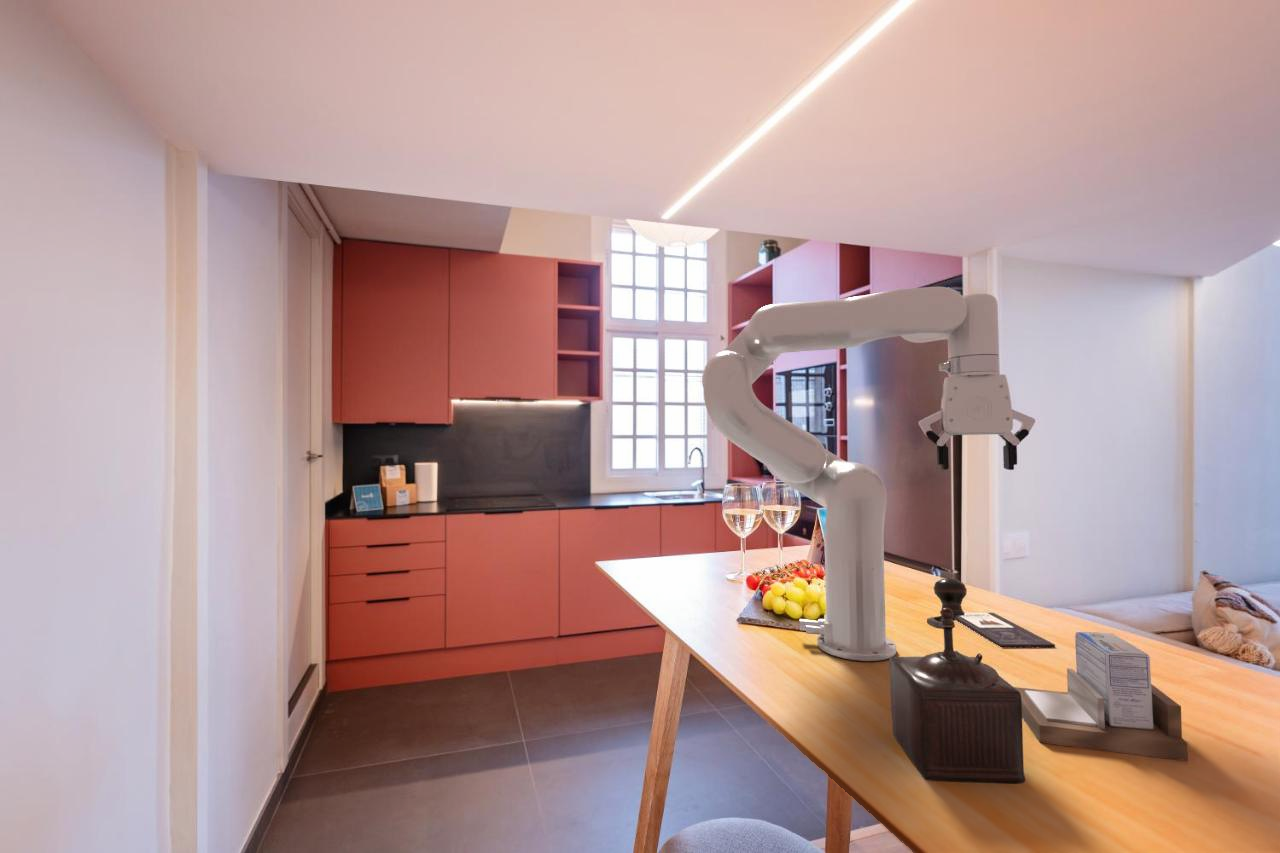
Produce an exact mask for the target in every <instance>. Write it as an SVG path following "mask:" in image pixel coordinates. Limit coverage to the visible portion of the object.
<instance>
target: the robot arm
mask: <svg viewBox="0 0 1280 853" xmlns="http://www.w3.org/2000/svg"><path fill="white" fill-rule="evenodd" d="M998 305H999V304H998V300H997V298H996V297H995V296H994V295H992V294H988V293H970V294H965V295H964V294H963V295H962V294H961V293H960V292H959V291H958V290H955V289H954V288H952V287H946V286H926V287H914V288H902V289H894V290H887V291H882V292H877V293H876V292H875V293H871V294H865V295H857V296H852V297H846V298H840V299H827V300H812V301H799V302H797V301H795V302H784V303H775V304H774V303H772V304H768V305H765V306H763V307H761V308H759V309H757V311H755V313H753V315H752V316H751V318H750V320H749V321H748V322H747V324H746V326H744V328H743V329H742V330H741V331H740V332H739V334H738V335H737V336H736V337H734V339H733V340H732V341H730V343H729V345H727V346H726V347H725V349H723V351H719V352H718V353H716V354H714V355H713V356H711V357H710V359H709V360H708V361H707V362H706V365H705V367H704V369H703V373H702V376H701V383H702V385H701V386H702V387H703V399H704V404H705V408H706V411H707V413H708V415H709V417H710V420H711V421H712V423H713V425H714V426H715V428H716V429H717V431H718V432H720V434H722V436H724V437H725V438H726V439H727V440H729V441H730V442H731V443H732V444H734V445H736V447H738V448H740V449H741V450H742V451H744V452H745V453H747V454H748V455H750V456H751V457H752V458H755V460H757V461H759V462H760V463H762V464H763V465H765V467H766V468H767V470H768V472H770V474H771V475H773V476H774V477H776V478H777V479H778V480H780V481H782V483H785V485H788V486H789V487H790V488H792V489H794V490H795V491H797V492H799V494H802V495H804V496H805V497H807V498H809V499H810V500H812V501H813V502H815V503H817V504H818V505H820V506H822V507H823V508H825V509H826V515H825V516H826V517H825V525H824V539H823V540H824V570H825V572H824V574H825V575H824V581H825V582H824V583H825V585H824V586H825V614H824V615H823V618H818V620H811V619H808V618H799V630H800V631H806V632H805V633H806V634H807V635H818V636H817V639H816V640H817V642H816V643H817V646H818V648H819V649H821V651H823V652H825V653H827V654H829V655H830V656H834V657H837V658H842V659H846V660H852V661H861V662H877V661H884V660H888V659H890V657H895V655H896V654H897V645H896V643H895V642H894V641H893V640H892V639H890V638H889V637H886V636H887V635H886V634H887V633H886V594H885V593H886V592H885V591H886V590H885V589H886V588H885V587H886V586H885V583H886V582H885V555H884V554H885V551H884V548H885V547H884V546H885V545H884V541H885V540H884V537H885V536H884V535H885V534H884V533H885V520H886V512H887V503H888V496H887V494H888V493H887V489H886V486H885V483H884V481H883V479H882V477H881V476H880V474H878V472H877V471H876V470H874V469H873V468H872V467H871V466H869V465H866V464H864V463H860V462H855V461H854V462H853V461H846V460H844V459H842V458H840V457H839V456H837V455H836V454H834V453H832V452H831V451H829V450H828V449H826V448H825V446H824V445H823V443H822V442H821V440H820V439H819V438H817V437H816V436H815V435H814V434H812V433H810V432H809V431H806V430H804V429H803V428H801V427H799V426H797V425H796V424H794V423H793V422H791V421H789V420H787V419H786V418H784V417H782V416H781V415H779V414H778V413H776V412H775V411H774V410H772V409H771V408H769V407H768V406H766V405H765V404H763V403H762V402H761V401H760V400H759V398H757V396H756V394H755V392H754V389H753V384H754V383H755V382H756V381H757V380H758V378H760V377H761V376H762V375H763V374H764V373H765V371H766V370H767V369H768V368H770V366H771V365H772V364H773V363H774V362H775V361H776V359H778V358H779V356H780V355H781V354H784V353H785V354H786V353H797V352H798V353H800V352H808V351H809V352H810V351H828V350H842V349H848V348H853V347H854V348H855V347H858V346H861V345H864V344H866V343H870V342H875V341H878V340H881V339H886V338H892V337H901V338H902V339H904V340H905V341H907V342H910V343H915V344H922V343H929V342H936V341H943V340H947V355H948V357H947V358H948V359H947V361H946V362H944V363H943V362H942V363H939V364H938V370H939V372H946V374H947V375H948V376H947V377H945V378H944V381H943V385H942V391H941V392H942V393H941V404H940V410H939V411H937V412H935V413H933V414H931V415H929V416H927V417H924V418H923V419H921V420H919V421H918V425H919V427H920V429H921V430H922V432H923V434H924V436H925V437H926V438H927V439H928V440H929V441H930V442H932V443H933V444H934V445H935V446H936V463H937V465H938V466H940V469H941V470H942V471H943V470H944V471H945V470H946V471H947V470H950V469H949V467H950V465H949V464H950V463H949V462H950V461H949V460H950V459H949V446H947V442H948V441H949V440H950V439H951V438H952V437H953V436H959V435H960V436H966V435H967V436H969V435H970V436H973V435H980V436H981V435H998V437H1000V438H1001V439H1002V440H1003V441H1004V442H1005V445H1003V446H1002V450H1003V451H1002V453H1003V469H1005V470H1010V471H1014V469H1015V466H1016V465H1018V450H1017V449H1018V445H1020V444H1021V442H1022V441H1023V440H1024V439H1026V437H1027V436H1028V435H1029V434H1030V431H1032V428H1033V427H1034V425H1035V423H1036V419H1035V418H1033V417H1031V416H1029V415H1026V414H1024V413H1021V412H1019V411H1018V410H1015V409H1012V408H1013V407H1012V401H1011V395H1010V394H1011V393H1010V388H1009V383H1008V378H1007V375H1006V374H1001V373H1000V370H1001V369H1000V341H999V340H1000V338H999V337H1000V336H999V306H998ZM939 420H940V428H941V433H940V434H939V435H938V434H936V432H934V431H933V429H932V427H931V425H932V424H933V423H936V422H937V421H939ZM1014 420H1015V421H1017V422H1019V423H1021V426H1020V428H1019V429H1018V430H1017V431H1016V432H1015V433H1013V432H1012V430H1013V426H1014Z"/></svg>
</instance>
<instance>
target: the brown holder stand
mask: <svg viewBox="0 0 1280 853" xmlns="http://www.w3.org/2000/svg"><path fill="white" fill-rule="evenodd" d="M1066 678H1067V679H1066V680H1067V681H1066V683H1067V685H1066V686H1067V691H1066V692H1065V691H1058V690H1056V691H1055V690H1046V689H1039V688H1037V689H1036V688H1027V687H1017V686H1013V687H1014V688H1015V689H1016V690H1018V691H1019V692H1020V695H1021V700H1022V720H1023V721H1024V722H1025V724H1026V725H1027V726H1028V728H1029V729H1030V730H1031V733H1032V734H1033V735H1034V736H1035V737H1036V739H1037V741H1038V742H1039V743H1042V744H1051V745H1057V746H1065V747H1067V746H1068V747H1075V748H1084V749H1090V750H1097V751H1106V752H1107V751H1108V752H1113V753H1114V752H1115V753H1121V754H1122V753H1123V754H1131V755H1139V756H1146V757H1154V758H1161V759H1163V758H1164V759H1169V760H1177V761H1185V762H1188V761H1189V755H1188V754H1189V753H1188V752H1189V750H1188V742H1187V741H1186V740H1185V739H1184V738H1183V731H1182V730H1183V727H1182V705H1180V704H1179V703H1177V702H1176V701H1175V700H1174V699H1172V698H1171V697H1170V696H1168V695H1166V694H1165V693H1164V692H1163V691H1161V689H1159V688H1158V687H1156V686H1155V685H1154V684H1152V683H1151V690H1152V709H1153V725H1154V728H1153V729H1151V730H1148V729H1136V728H1123V727H1115V726H1111V725H1110V724H1109V723H1107V722H1106V721H1105V719H1104V698H1103V697H1102V696H1101V695H1100V694H1099V693H1098V692H1096V691H1095V690H1094V689H1093V688H1092V687H1091V686H1090V685H1089V684H1088V683H1087V682H1086V681H1085V680H1084V679H1083V678H1082V677H1081V676H1079V675H1078V674H1077V671H1075V670H1074V669H1073V668H1066Z"/></svg>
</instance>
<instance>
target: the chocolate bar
mask: <svg viewBox="0 0 1280 853" xmlns="http://www.w3.org/2000/svg"><path fill="white" fill-rule="evenodd" d="M964 613H965V614H964V615H963V616H958V618H957V619H955V621H956V620H957V621H958V623H959V622H960V623H959V624H961V623H962V624H963V625H962V624H961V625H962V626H964V625H965V626H964V627H966V626H967V627H968V629H969V628H970V629H969V630H971V631H972V630H973V632H974V631H975V632H974V633H976V634H977V633H978V634H977V635H979V634H980V635H979V636H981V637H982V636H983V638H984V639H985V640H987V639H988V642H991V643H992V642H993V643H992V644H994V645H995V644H996V646H997V645H998V646H997V647H999V646H1000V647H1016V648H1015V649H1018V648H1019V647H1022V648H1021V649H1023V648H1026V649H1027V648H1028V649H1035V648H1036V647H1039V649H1041V648H1043V649H1045V648H1047V647H1048V648H1047V649H1049V648H1050V649H1051V648H1053V647H1055V648H1056V644H1055V643H1053V642H1051V641H1049V640H1047V639H1045V638H1043V637H1041V636H1040V635H1038V634H1035V633H1034V632H1031V631H1029V630H1028V629H1025V628H1023V627H1022V626H1020V625H1018V624H1016V623H1014V622H1012V621H1010V620H1008V619H1006V618H1005V617H1002V616H1000V615H999V614H997V613H995V612H964ZM957 621H956V622H957ZM967 627H966V628H967ZM1000 647H999V648H1000ZM1032 647H1034V648H1032ZM1019 649H1020V648H1019ZM1036 649H1037V648H1036ZM1053 649H1054V648H1053Z"/></svg>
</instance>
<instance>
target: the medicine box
mask: <svg viewBox="0 0 1280 853" xmlns="http://www.w3.org/2000/svg"><path fill="white" fill-rule="evenodd" d="M1074 640H1075V642H1074V643H1075V664H1076V666H1075V667H1076V673H1077V674H1078V675H1079V676H1081V677H1082V678H1083V679H1084V680H1085V681H1086V682H1087V683H1088V684H1089V685H1090V686H1091V687H1092V688H1093V689H1094V690H1095V691H1096V692H1098V693H1099V694H1100V695H1101V696H1102V697H1103V698H1104V719H1105V721H1106V722H1107V723H1109V724H1110V725H1111V726H1115V727H1123V728H1136V729H1148V730H1151V729H1153V728H1154V725H1153V709H1152V690H1151V684H1152V679H1151V678H1152V675H1151V659H1150V655H1149V654H1148V653H1147V652H1145V651H1143V650H1141V649H1140V648H1138V647H1136V646H1135V645H1133V644H1131V643H1130V642H1128V641H1126V640H1124V638H1121V637H1120V636H1118V635H1116V634H1114V633H1109V632H1098V631H1097V632H1095V631H1076V632H1075V636H1074Z"/></svg>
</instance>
